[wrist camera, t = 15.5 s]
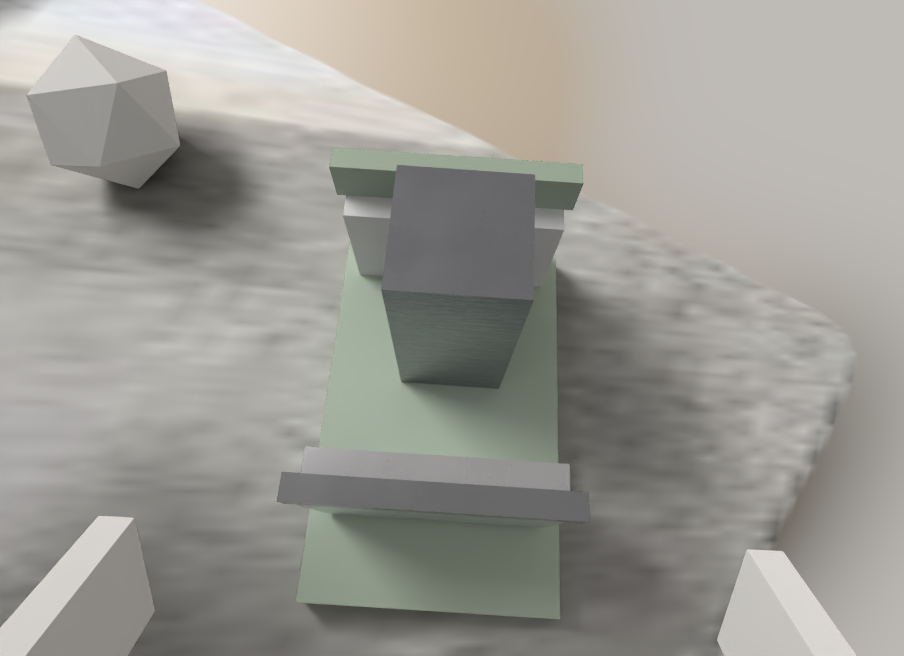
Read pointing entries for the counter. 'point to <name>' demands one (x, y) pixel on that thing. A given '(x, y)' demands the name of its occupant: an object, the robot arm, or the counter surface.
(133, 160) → the die
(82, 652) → the robot arm
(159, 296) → the counter surface
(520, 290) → the steel block
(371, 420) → the vise bed
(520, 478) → the sliding jaw
